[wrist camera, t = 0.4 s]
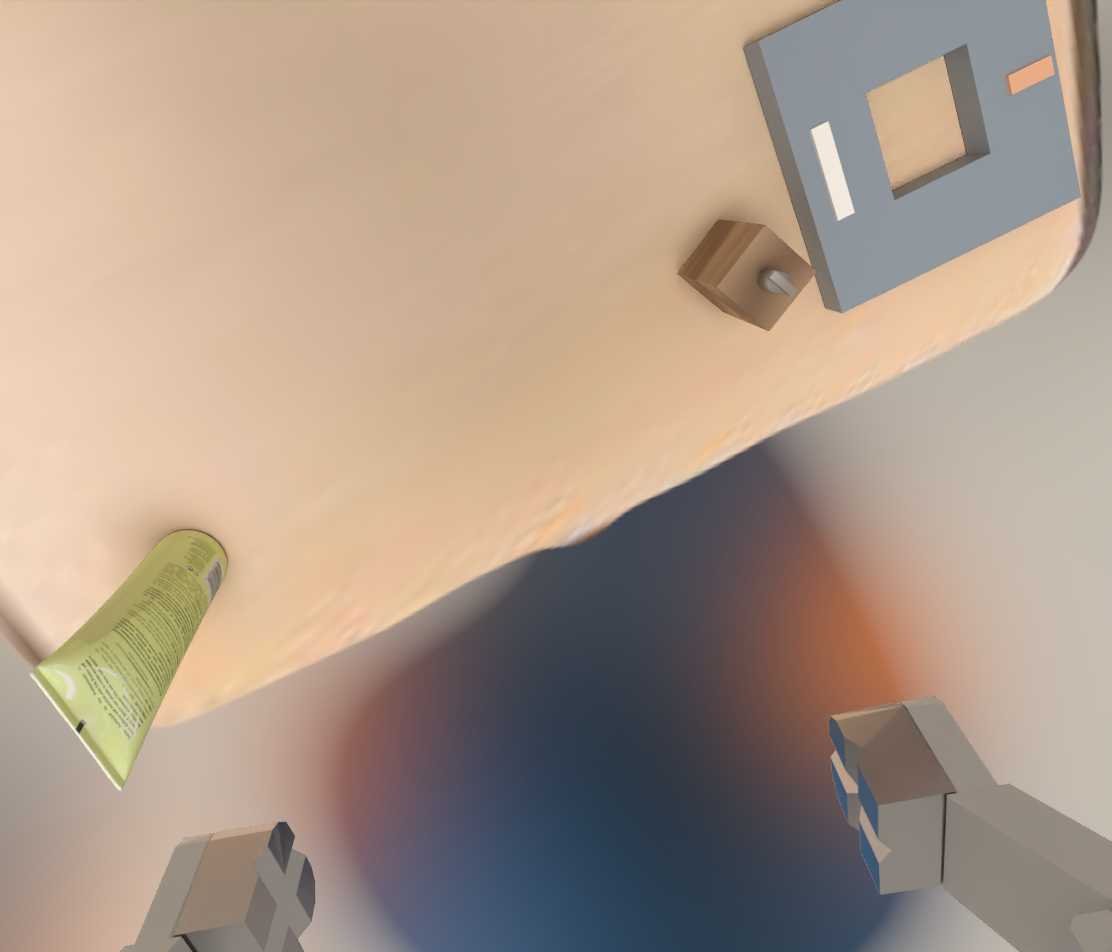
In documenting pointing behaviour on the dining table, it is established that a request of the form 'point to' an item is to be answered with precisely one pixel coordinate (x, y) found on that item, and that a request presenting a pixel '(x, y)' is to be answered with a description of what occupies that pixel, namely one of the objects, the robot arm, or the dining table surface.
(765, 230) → the wooden peg with knob
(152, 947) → the robot arm
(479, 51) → the dining table surface
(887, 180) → the socket plate
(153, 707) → the tube
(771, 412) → the dining table surface
